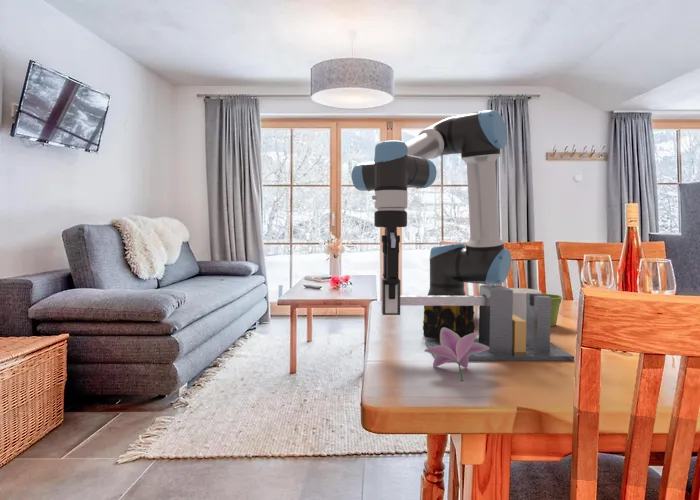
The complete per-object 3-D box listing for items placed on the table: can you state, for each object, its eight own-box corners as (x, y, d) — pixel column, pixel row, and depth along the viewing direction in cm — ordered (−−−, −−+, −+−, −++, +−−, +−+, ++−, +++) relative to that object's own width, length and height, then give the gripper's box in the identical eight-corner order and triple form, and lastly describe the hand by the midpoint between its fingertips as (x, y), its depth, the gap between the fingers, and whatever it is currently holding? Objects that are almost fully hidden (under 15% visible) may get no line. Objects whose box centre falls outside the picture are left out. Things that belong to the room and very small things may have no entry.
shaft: (381, 311, 101) (381, 278, 100) (493, 311, 100) (493, 278, 100) (382, 315, 97) (382, 280, 96) (498, 315, 96) (499, 280, 96)
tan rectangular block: (502, 342, 103) (502, 314, 102) (512, 342, 103) (513, 314, 102) (514, 352, 95) (515, 321, 94) (525, 352, 95) (526, 321, 94)
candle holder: (544, 339, 109) (545, 293, 108) (504, 338, 111) (505, 292, 110) (535, 330, 119) (536, 288, 118) (499, 329, 121) (499, 287, 120)
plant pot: (523, 320, 132) (523, 293, 131) (553, 321, 131) (554, 293, 131) (535, 327, 122) (535, 298, 122) (568, 328, 122) (569, 298, 122)
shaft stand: (425, 343, 106) (425, 283, 105) (544, 343, 106) (546, 283, 105) (436, 360, 92) (437, 292, 91) (574, 360, 92) (576, 292, 91)
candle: (443, 329, 120) (443, 295, 120) (475, 336, 113) (476, 299, 112) (421, 336, 113) (422, 299, 112) (455, 343, 106) (455, 304, 105)
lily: (499, 379, 84) (487, 332, 88) (486, 373, 74) (474, 320, 78) (441, 389, 88) (432, 344, 93) (422, 384, 79) (413, 334, 83)
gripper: (372, 211, 106) (372, 304, 107) (376, 208, 89) (376, 318, 90) (402, 211, 106) (402, 304, 107) (412, 208, 89) (411, 318, 90)
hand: (390, 310), depth 99 cm, fingers closed on shaft, 4 cm apart
